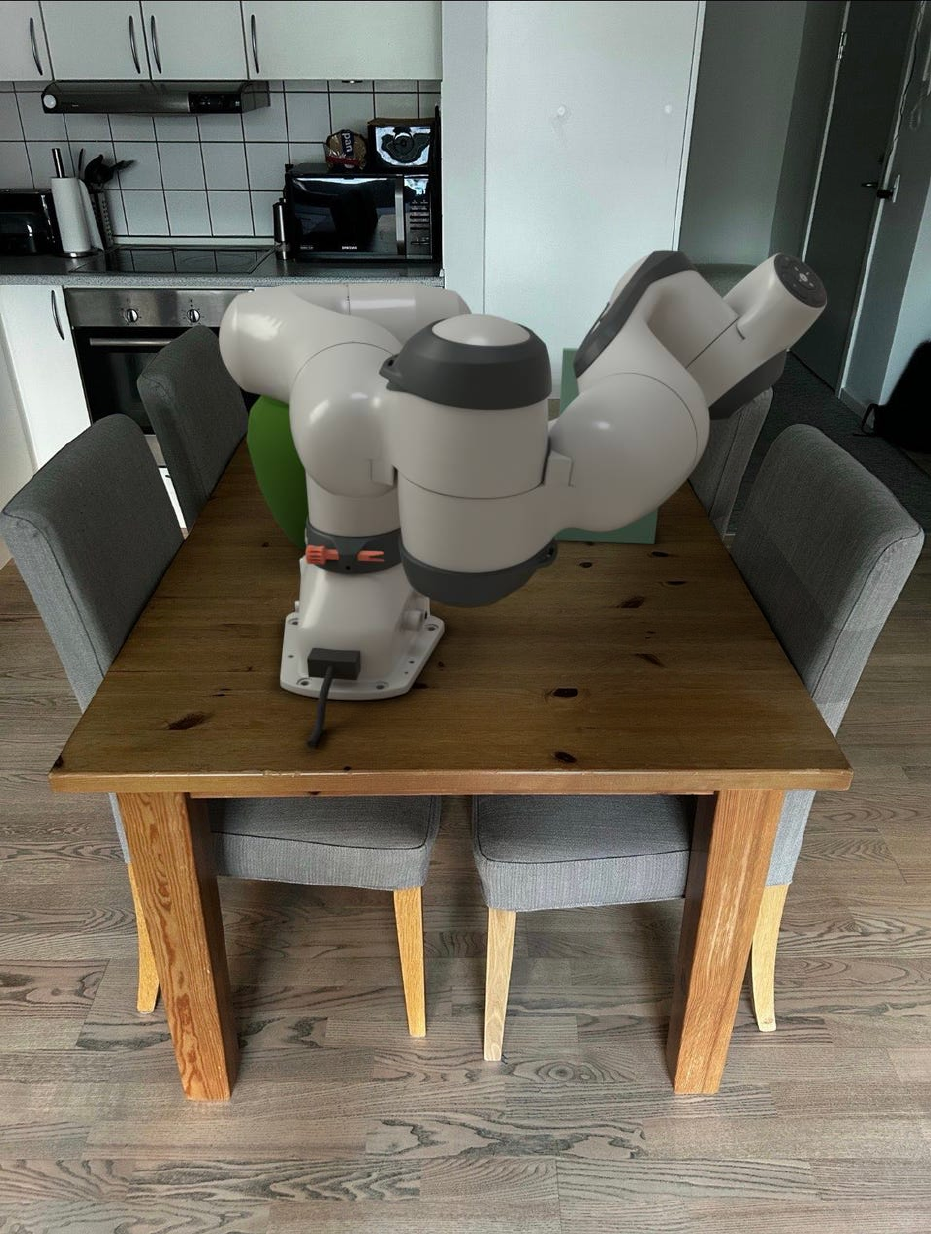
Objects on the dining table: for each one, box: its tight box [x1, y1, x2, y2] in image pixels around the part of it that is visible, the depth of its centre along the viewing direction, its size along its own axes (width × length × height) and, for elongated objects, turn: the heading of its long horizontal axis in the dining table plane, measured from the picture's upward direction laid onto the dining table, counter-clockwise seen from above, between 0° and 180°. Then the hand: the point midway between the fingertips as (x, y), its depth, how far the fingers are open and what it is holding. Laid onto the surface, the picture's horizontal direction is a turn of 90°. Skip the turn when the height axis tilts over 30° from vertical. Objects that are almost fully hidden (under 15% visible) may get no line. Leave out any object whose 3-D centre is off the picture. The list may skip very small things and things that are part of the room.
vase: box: [246, 395, 309, 553], centre depth 127 cm, size 20×20×24 cm
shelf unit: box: [554, 347, 659, 545], centre depth 135 cm, size 13×14×24 cm
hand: (650, 425), depth 121 cm, fingers closed on beer can, 6 cm apart
